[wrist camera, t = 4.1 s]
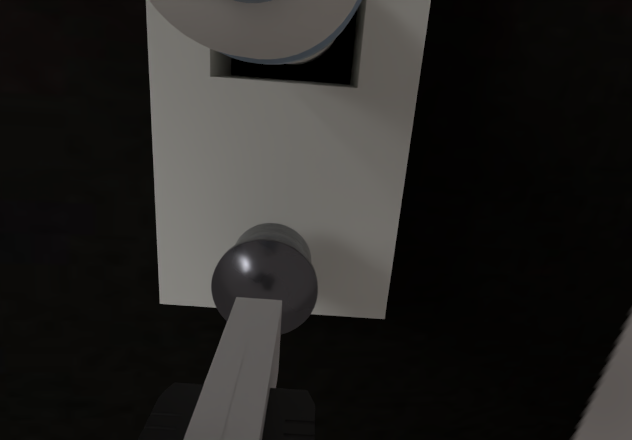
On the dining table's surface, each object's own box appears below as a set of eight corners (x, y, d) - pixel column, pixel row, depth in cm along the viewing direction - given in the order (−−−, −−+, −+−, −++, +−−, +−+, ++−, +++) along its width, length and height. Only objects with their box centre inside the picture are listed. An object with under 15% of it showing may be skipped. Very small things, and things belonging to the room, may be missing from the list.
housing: (186, 263, 28) (159, 303, 23) (171, -393, 18) (119, -554, 13) (373, 277, 28) (384, 319, 23) (457, -364, 18) (505, -513, 14)
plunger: (225, 297, 21) (211, 332, 18) (226, 213, 19) (210, 236, 16) (314, 303, 21) (313, 339, 18) (321, 220, 19) (321, 245, 17)
